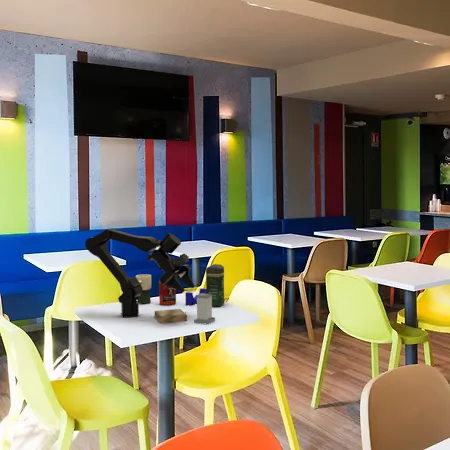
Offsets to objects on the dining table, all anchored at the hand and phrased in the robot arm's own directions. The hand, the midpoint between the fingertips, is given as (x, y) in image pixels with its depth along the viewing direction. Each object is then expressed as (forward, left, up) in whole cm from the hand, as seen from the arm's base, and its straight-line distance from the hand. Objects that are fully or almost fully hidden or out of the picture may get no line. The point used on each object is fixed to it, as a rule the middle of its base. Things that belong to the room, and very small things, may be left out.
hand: (189, 289), depth 219 cm
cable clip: (+11, +30, -13) cm, 35 cm away
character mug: (-12, +39, -13) cm, 43 cm away
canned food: (-2, +33, -13) cm, 35 cm away
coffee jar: (+18, +23, -13) cm, 32 cm away
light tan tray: (-7, +5, -13) cm, 15 cm away
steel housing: (+5, -4, -13) cm, 14 cm away
